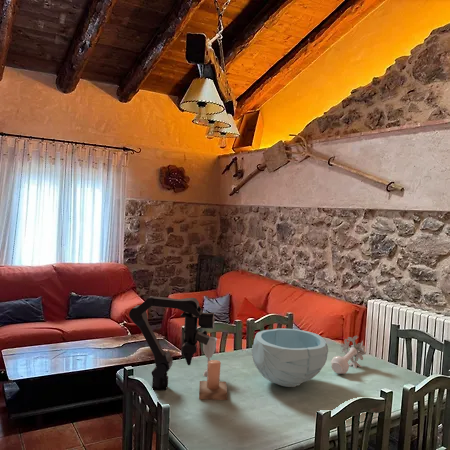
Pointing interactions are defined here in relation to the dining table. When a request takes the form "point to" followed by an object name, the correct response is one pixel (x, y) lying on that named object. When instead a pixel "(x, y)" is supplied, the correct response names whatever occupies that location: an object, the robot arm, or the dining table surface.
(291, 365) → the bowl
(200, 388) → the walnut plinth
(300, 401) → the dining table surface
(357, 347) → the flower vase
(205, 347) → the chalice
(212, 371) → the terracotta cylinder
